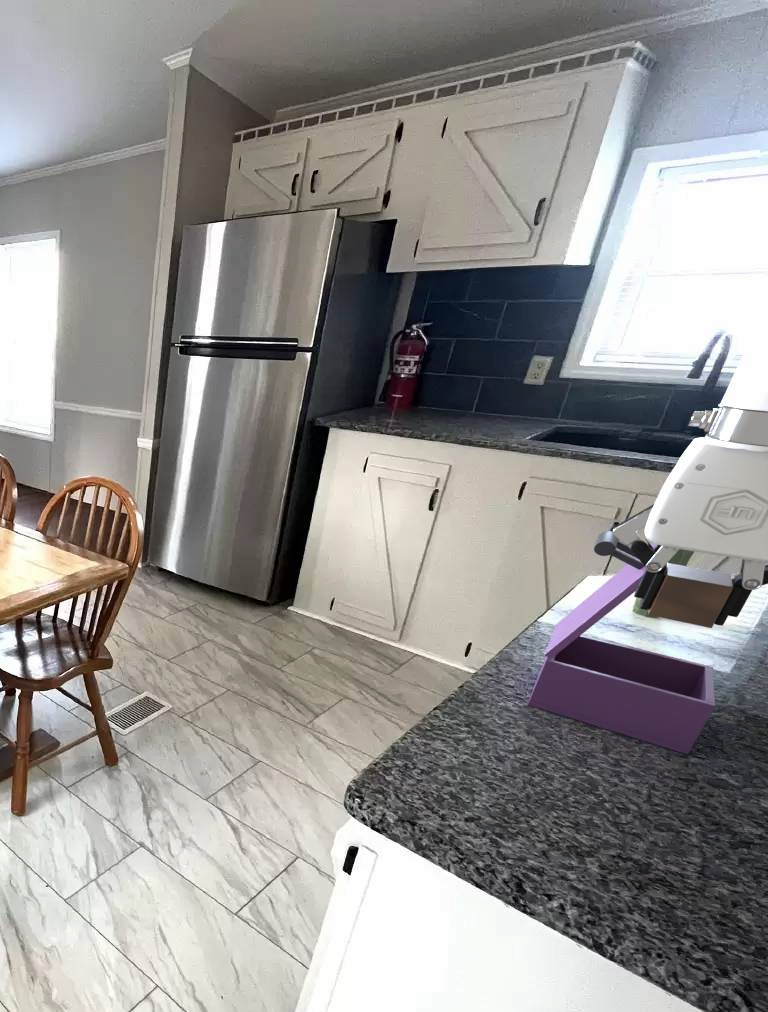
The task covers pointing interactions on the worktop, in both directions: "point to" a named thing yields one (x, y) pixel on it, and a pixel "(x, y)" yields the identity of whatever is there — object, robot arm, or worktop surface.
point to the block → (692, 595)
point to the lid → (599, 594)
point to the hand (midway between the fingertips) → (680, 611)
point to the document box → (628, 691)
